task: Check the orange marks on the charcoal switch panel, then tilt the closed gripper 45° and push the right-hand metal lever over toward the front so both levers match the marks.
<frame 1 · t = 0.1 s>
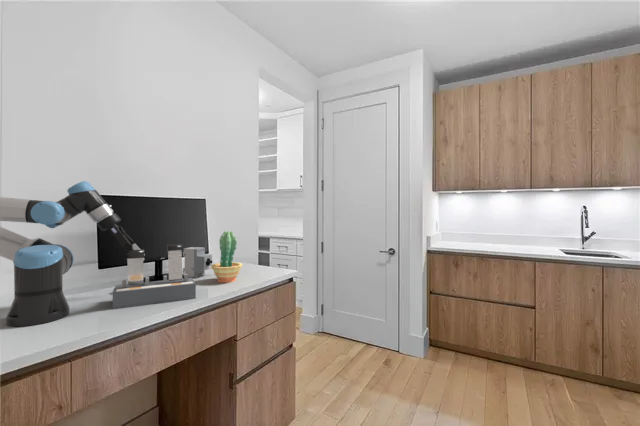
hand: (141, 259, 125), 15 cm above the table, tool tilted 35°, fingers open, 13 cm apart
left lever: (135, 267, 115), point 14 cm above the table, hinge at 25.0°
multiport hub: (129, 291, 134), on the table
switch base: (156, 299, 122), on the table
right lever: (175, 262, 128), point 14 cm above the table, hinge at -25.0°
circuit breaker: (199, 276, 165), on the table
potted cactus: (226, 280, 155), on the table
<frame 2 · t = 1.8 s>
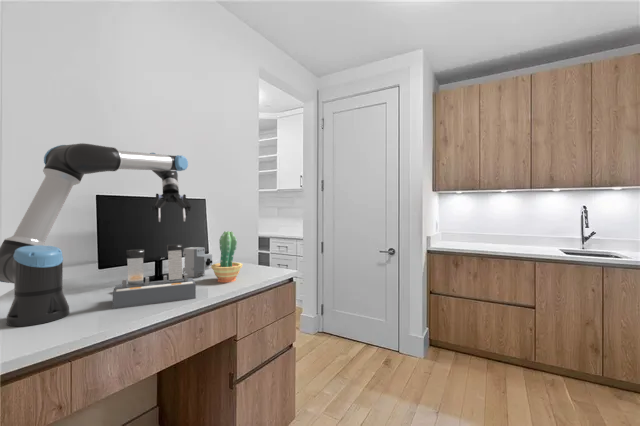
hand: (172, 219, 145), 31 cm above the table, tool tilted 45°, fingers open, 10 cm apart
nothing on the table moved.
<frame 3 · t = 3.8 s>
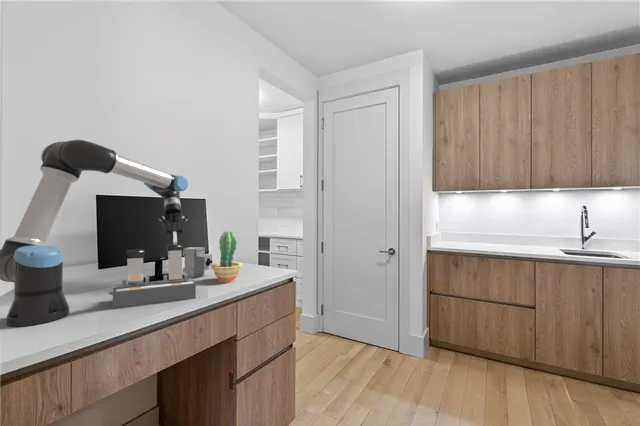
hand: (175, 244, 141), 20 cm above the table, tool tilted 45°, fingers closed
nothing on the table moved.
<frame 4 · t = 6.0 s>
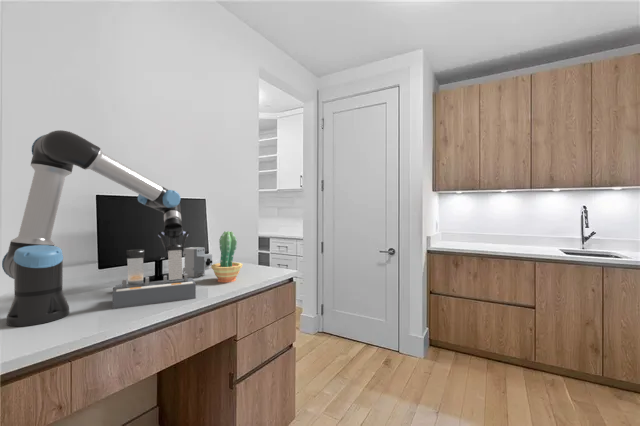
hand: (175, 263, 130), 13 cm above the table, tool tilted 45°, fingers closed
right lever: (175, 261, 128), point 14 cm above the table, hinge at -23.7°, touching gripper
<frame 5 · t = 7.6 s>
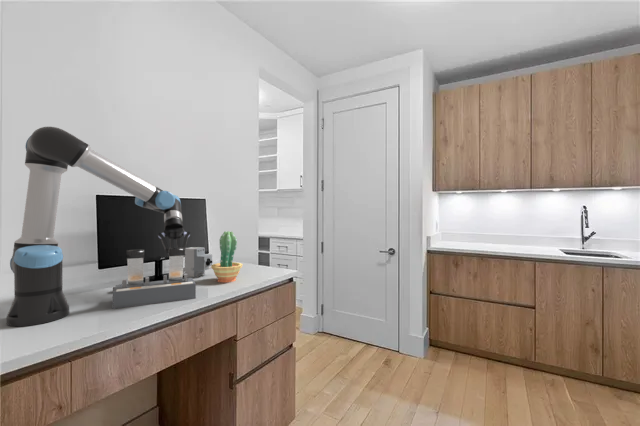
hand: (176, 265, 124), 13 cm above the table, tool tilted 45°, fingers closed
right lever: (176, 264, 122), point 14 cm above the table, hinge at 25.4°, touching gripper
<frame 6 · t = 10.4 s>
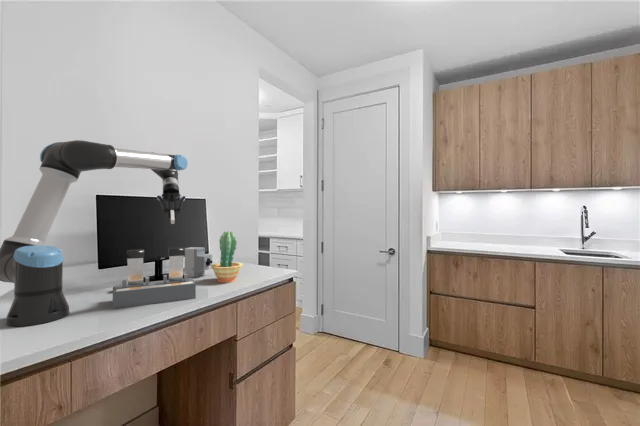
hand: (172, 221, 142), 30 cm above the table, tool tilted 45°, fingers closed
right lever: (176, 264, 122), point 14 cm above the table, hinge at 25.4°
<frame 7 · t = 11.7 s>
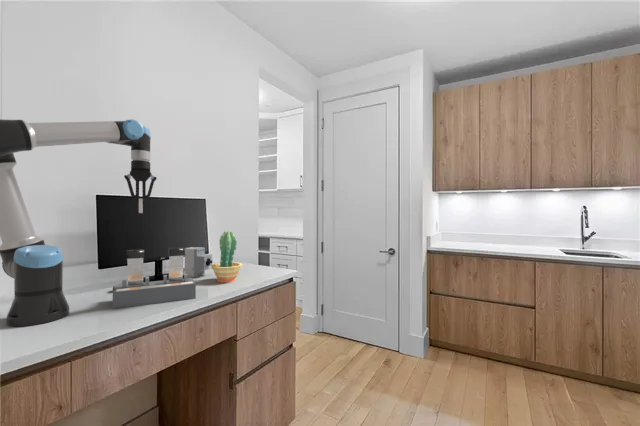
hand: (140, 212, 138), 34 cm above the table, tool pointing down, fingers closed
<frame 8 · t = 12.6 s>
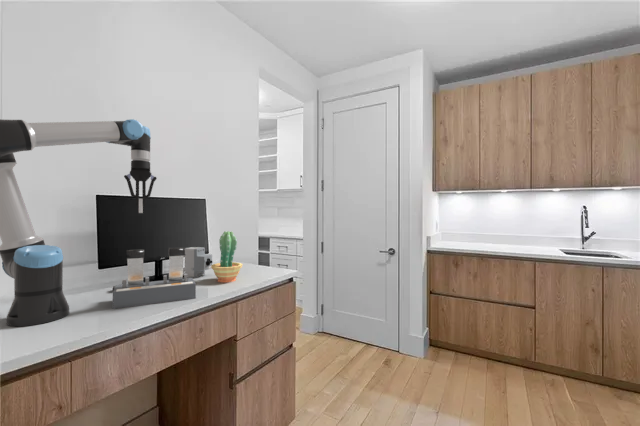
hand: (140, 212, 138), 34 cm above the table, tool pointing down, fingers closed
at the end: right lever at +25° (first picture: -25°); left lever at +25° (first picture: +25°) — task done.
